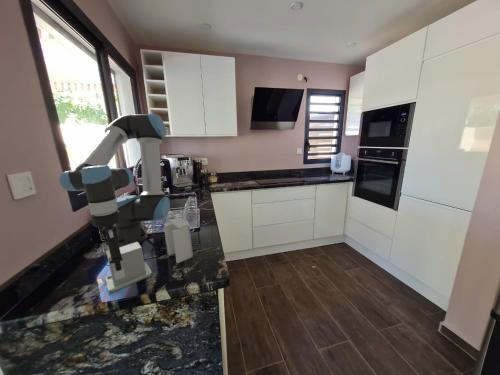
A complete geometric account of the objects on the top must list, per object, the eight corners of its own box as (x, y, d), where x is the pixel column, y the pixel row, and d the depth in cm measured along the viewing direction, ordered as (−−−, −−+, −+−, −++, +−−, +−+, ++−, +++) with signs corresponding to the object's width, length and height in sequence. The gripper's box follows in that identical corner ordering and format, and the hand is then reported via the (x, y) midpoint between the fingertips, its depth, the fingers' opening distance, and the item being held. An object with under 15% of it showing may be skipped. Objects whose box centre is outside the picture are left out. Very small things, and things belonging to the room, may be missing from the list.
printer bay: (167, 252, 89) (163, 221, 85) (182, 247, 93) (178, 217, 90) (177, 263, 80) (172, 229, 77) (193, 256, 85) (189, 224, 82)
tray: (105, 279, 72) (105, 277, 72) (145, 264, 81) (145, 261, 80) (109, 293, 65) (108, 290, 65) (152, 275, 74) (152, 272, 73)
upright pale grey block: (112, 278, 72) (106, 250, 69) (142, 266, 78) (137, 240, 76) (114, 286, 67) (108, 257, 65) (146, 273, 74) (141, 246, 71)
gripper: (88, 207, 72) (100, 258, 77) (93, 226, 54) (108, 292, 58) (113, 202, 77) (123, 251, 81) (125, 218, 58) (137, 280, 63)
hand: (117, 268), depth 70 cm, fingers open, 13 cm apart
